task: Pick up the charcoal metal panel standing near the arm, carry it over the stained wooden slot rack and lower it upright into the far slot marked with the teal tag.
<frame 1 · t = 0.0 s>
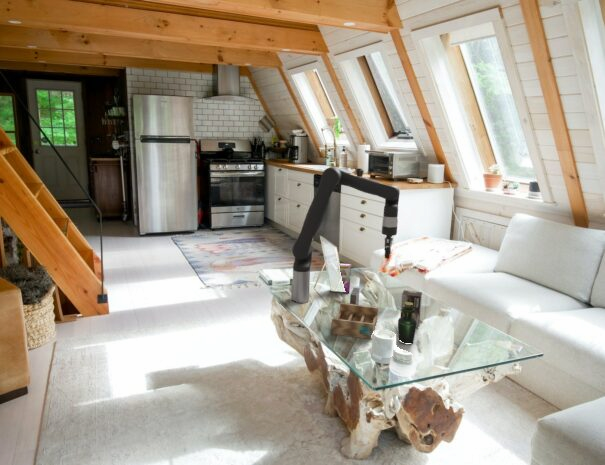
hand: (387, 256, 247), 29 cm above the table, tool pointing down, fingers open, 8 cm apart
candy bar box: (340, 292, 280), on the table
potion bottle: (405, 342, 215), on the table
coffee box: (409, 324, 235), on the table
rack: (355, 327, 230), on the table
panel: (353, 309, 252), on the table
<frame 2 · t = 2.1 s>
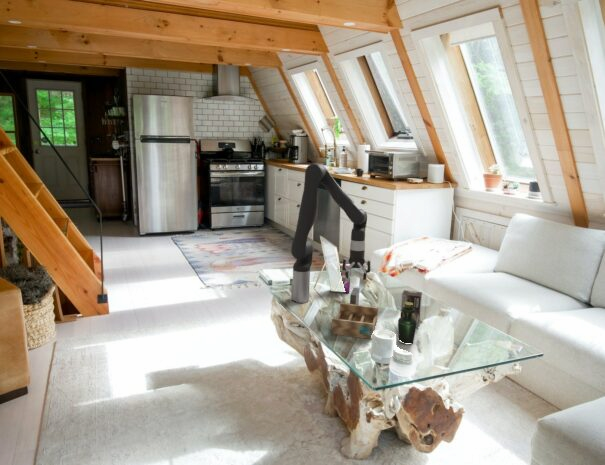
hand: (355, 279, 249), 17 cm above the table, tool pointing down, fingers open, 8 cm apart
nothing on the table moved.
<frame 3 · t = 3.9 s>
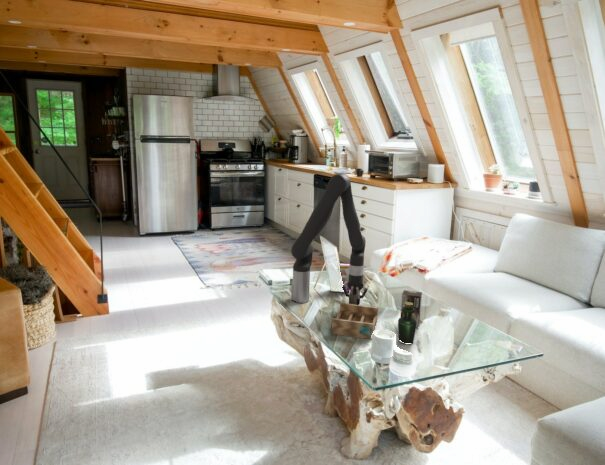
hand: (354, 304, 252), 3 cm above the table, tool pointing down, fingers closed on panel, 3 cm apart
panel: (353, 309, 252), on the table, touching gripper
everything else where it was.
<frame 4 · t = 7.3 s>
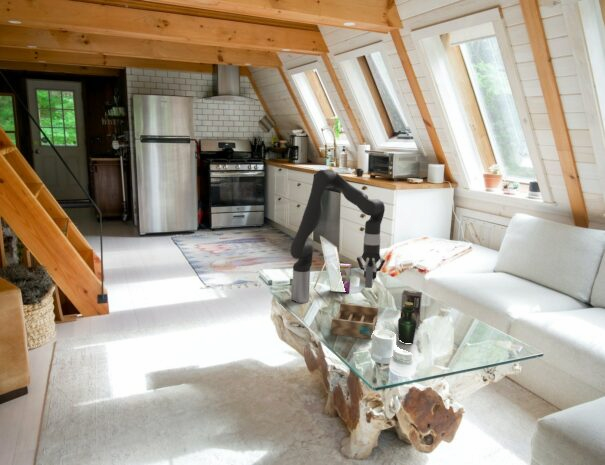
hand: (370, 278, 226), 24 cm above the table, tool pointing down, fingers closed on panel, 3 cm apart
panel: (369, 284, 226), point 21 cm above the table, touching gripper
everything else where it was.
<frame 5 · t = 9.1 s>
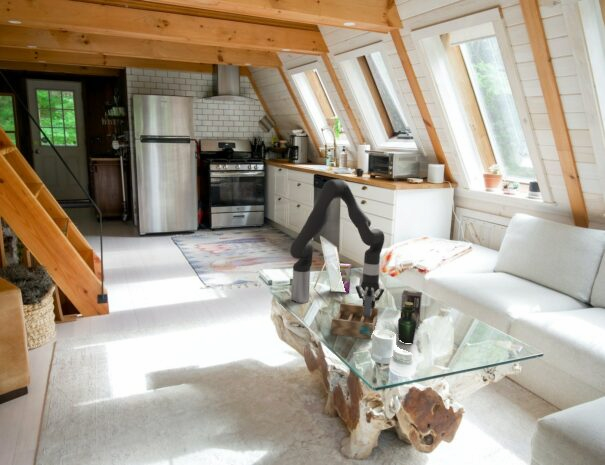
hand: (368, 307, 226), 11 cm above the table, tool pointing down, fingers closed on panel, 3 cm apart
panel: (368, 312, 227), point 8 cm above the table, touching gripper
everything else where it was.
when the fingers open (5 cm above the table, at t = 10.6 s): panel stays where it is, resting on rack.
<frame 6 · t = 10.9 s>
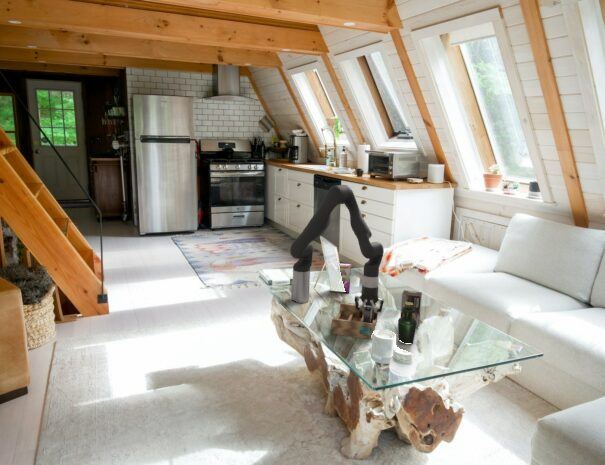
hand: (368, 318, 227), 5 cm above the table, tool pointing down, fingers open, 5 cm apart
panel: (367, 326, 228), point 1 cm above the table, touching rack
everything else where it was.
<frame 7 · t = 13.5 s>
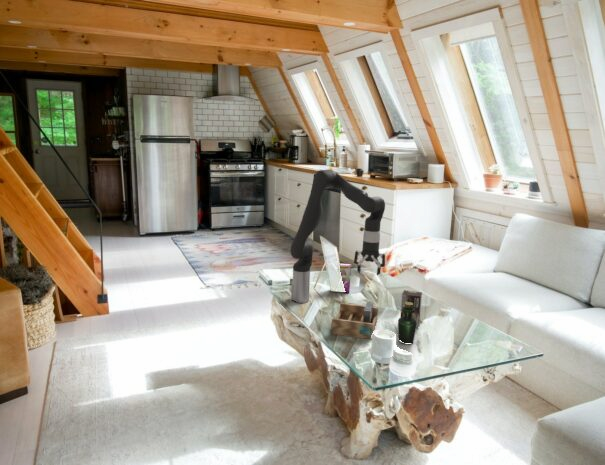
hand: (368, 273, 225), 26 cm above the table, tool pointing down, fingers open, 8 cm apart
nothing on the table moved.
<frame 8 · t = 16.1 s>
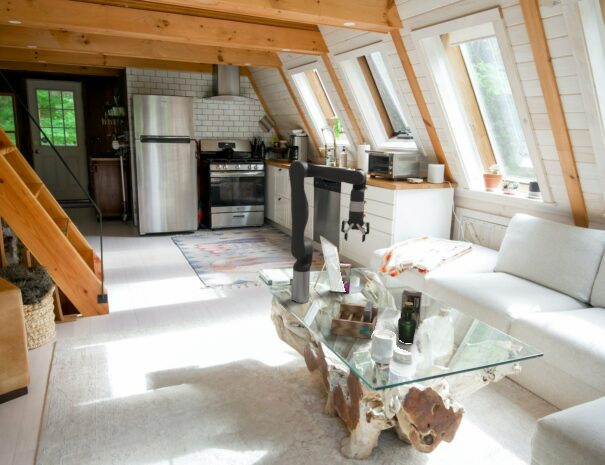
hand: (354, 241, 247), 36 cm above the table, tool pointing down, fingers open, 8 cm apart
nothing on the table moved.
at the end: panel inside the target area on the rack (0.1 cm from its centre), point 1.0 cm above the rack's base; panel tilted 0°; the gripper is holding nothing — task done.
